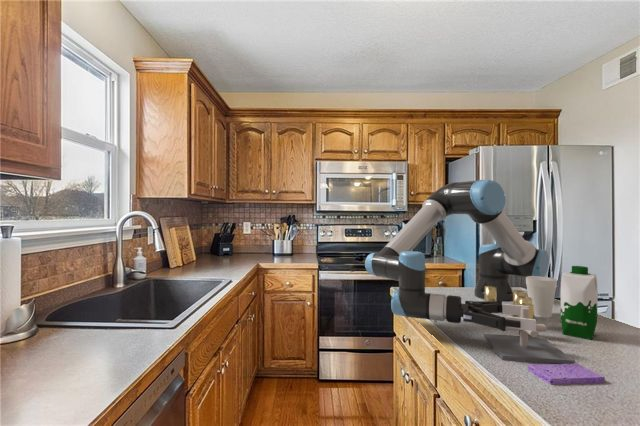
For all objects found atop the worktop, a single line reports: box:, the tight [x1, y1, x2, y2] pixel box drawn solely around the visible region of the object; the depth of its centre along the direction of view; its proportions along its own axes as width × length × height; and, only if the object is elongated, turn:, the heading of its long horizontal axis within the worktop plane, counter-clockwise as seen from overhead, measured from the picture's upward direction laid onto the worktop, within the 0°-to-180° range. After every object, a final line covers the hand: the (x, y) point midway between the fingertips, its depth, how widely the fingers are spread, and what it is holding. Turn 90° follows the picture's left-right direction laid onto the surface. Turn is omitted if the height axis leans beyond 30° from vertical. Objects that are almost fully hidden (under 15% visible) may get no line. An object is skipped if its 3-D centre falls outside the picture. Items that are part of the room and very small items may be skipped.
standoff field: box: [484, 286, 535, 337], centre depth 116 cm, size 12×30×9 cm, turn 170°
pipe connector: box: [506, 307, 547, 347], centre depth 92 cm, size 10×10×10 cm
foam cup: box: [525, 276, 558, 318], centre depth 125 cm, size 10×9×13 cm
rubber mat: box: [482, 333, 575, 365], centre depth 93 cm, size 16×16×1 cm
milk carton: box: [560, 265, 599, 341], centre depth 105 cm, size 9×9×20 cm
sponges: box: [527, 363, 606, 385], centre depth 78 cm, size 7×13×2 cm, turn 95°
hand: (532, 318), depth 92 cm, fingers open, 13 cm apart
